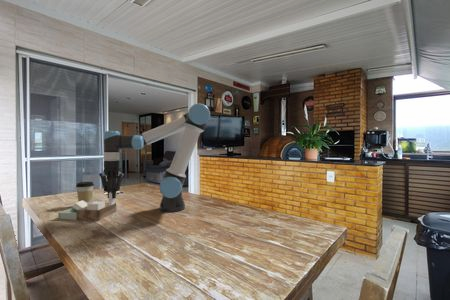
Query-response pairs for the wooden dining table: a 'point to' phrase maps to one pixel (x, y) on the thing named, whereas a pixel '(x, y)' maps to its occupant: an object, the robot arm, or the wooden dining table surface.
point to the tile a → (80, 205)
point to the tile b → (95, 205)
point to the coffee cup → (85, 191)
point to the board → (95, 212)
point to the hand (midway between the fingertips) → (111, 204)
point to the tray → (68, 214)
